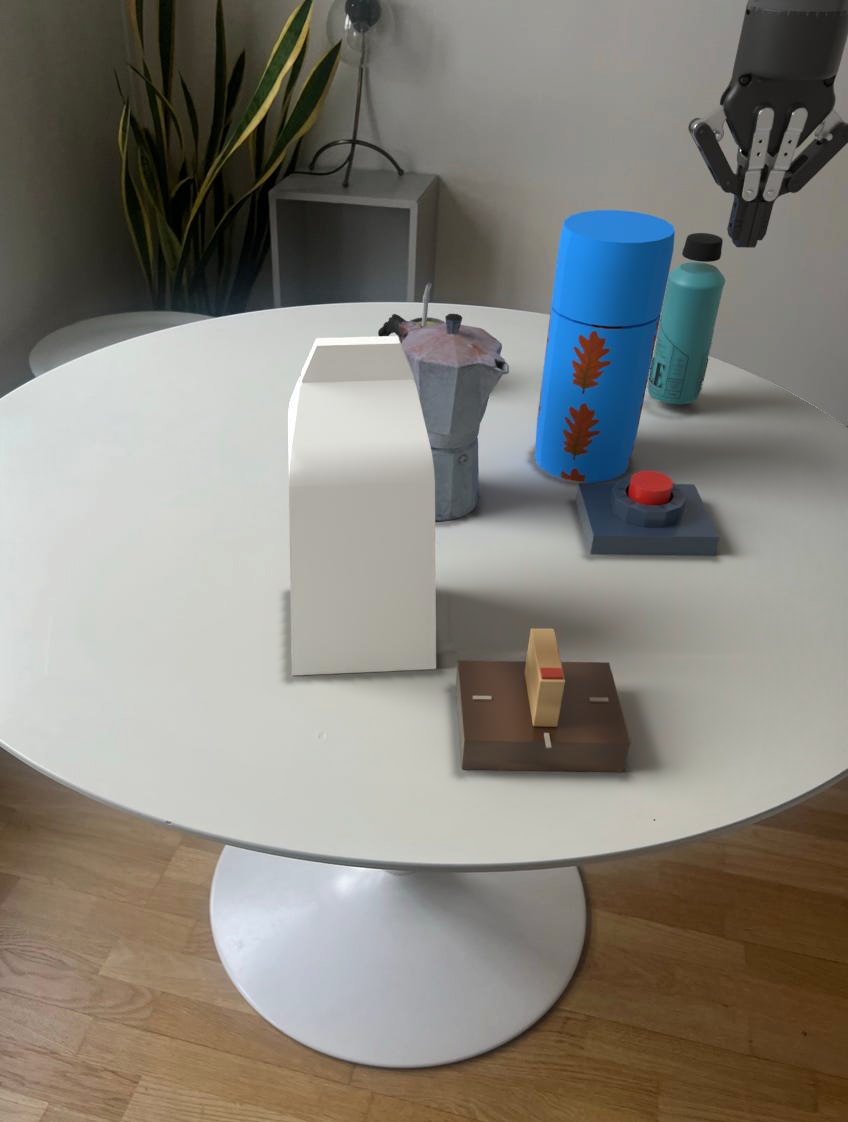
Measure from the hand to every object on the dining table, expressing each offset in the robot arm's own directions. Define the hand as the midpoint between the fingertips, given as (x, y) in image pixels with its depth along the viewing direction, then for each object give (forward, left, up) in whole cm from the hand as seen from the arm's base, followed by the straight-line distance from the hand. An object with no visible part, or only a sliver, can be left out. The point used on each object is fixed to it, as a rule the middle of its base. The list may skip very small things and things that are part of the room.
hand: (742, 244), depth 81 cm
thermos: (+8, -12, -27) cm, 31 cm away
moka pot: (+25, -3, -27) cm, 37 cm away
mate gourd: (+25, -30, -27) cm, 48 cm away
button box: (+4, +2, -27) cm, 27 cm away
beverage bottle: (-5, -26, -27) cm, 38 cm away
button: (+4, +2, -23) cm, 24 cm away
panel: (+18, +31, -27) cm, 45 cm away
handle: (+18, +31, -24) cm, 43 cm away
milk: (+32, +19, -27) cm, 46 cm away
